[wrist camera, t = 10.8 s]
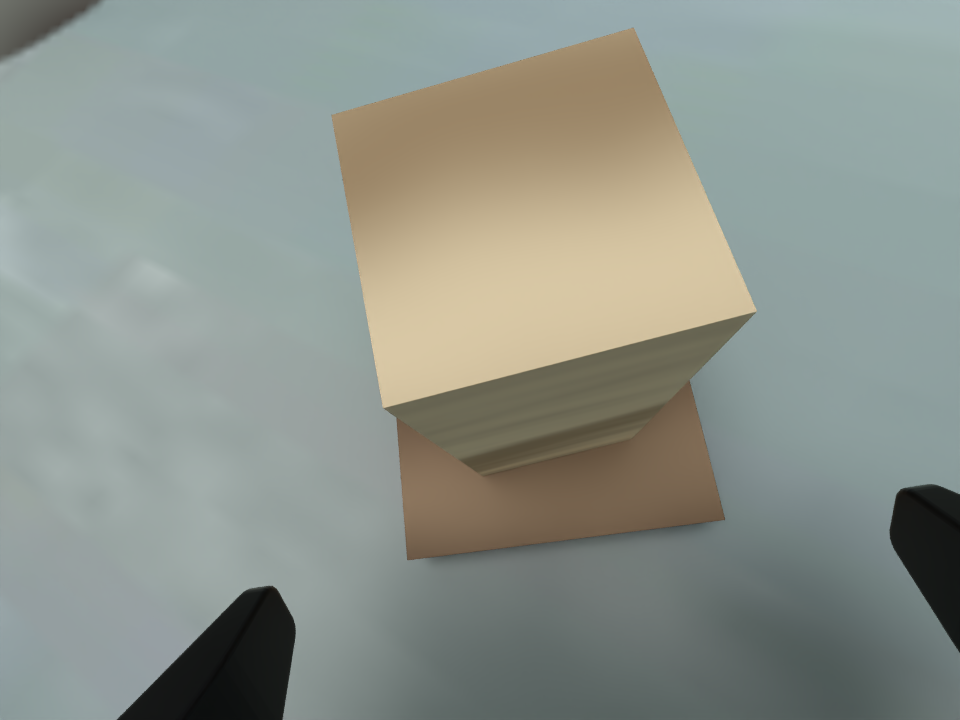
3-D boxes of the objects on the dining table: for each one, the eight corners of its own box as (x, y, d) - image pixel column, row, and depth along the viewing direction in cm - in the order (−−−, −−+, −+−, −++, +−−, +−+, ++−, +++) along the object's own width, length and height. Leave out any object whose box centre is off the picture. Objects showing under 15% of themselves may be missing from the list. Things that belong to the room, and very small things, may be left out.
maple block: (631, 439, 17) (757, 311, 7) (482, 476, 17) (383, 408, 7) (587, 302, 19) (633, 28, 8) (451, 338, 19) (331, 114, 9)
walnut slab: (700, 520, 19) (725, 519, 16) (429, 555, 20) (407, 560, 17) (640, 271, 22) (651, 234, 19) (407, 312, 23) (386, 282, 20)
